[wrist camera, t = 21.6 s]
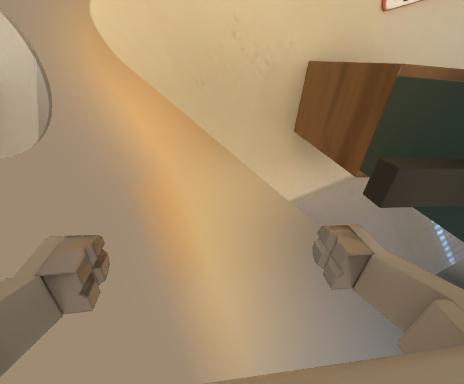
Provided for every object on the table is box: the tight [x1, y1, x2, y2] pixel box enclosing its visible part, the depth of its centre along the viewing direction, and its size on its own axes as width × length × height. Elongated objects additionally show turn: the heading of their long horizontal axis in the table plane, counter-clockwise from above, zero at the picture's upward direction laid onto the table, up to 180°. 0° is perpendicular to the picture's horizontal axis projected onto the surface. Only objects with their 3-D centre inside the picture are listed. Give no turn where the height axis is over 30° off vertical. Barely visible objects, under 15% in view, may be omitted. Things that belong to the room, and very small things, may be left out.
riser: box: [294, 61, 464, 177], centre depth 33 cm, size 12×12×20 cm
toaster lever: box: [363, 157, 464, 208], centre depth 13 cm, size 9×2×2 cm, turn 86°
